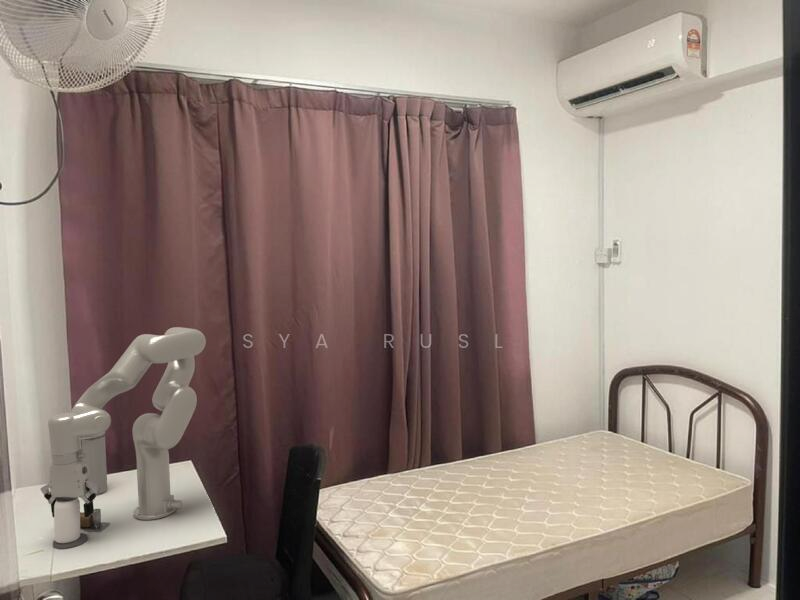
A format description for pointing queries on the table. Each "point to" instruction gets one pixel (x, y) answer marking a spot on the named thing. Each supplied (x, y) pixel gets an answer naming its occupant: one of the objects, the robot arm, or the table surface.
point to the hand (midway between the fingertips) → (73, 515)
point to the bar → (86, 520)
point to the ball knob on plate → (97, 522)
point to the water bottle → (96, 459)
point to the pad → (79, 541)
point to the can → (66, 520)
